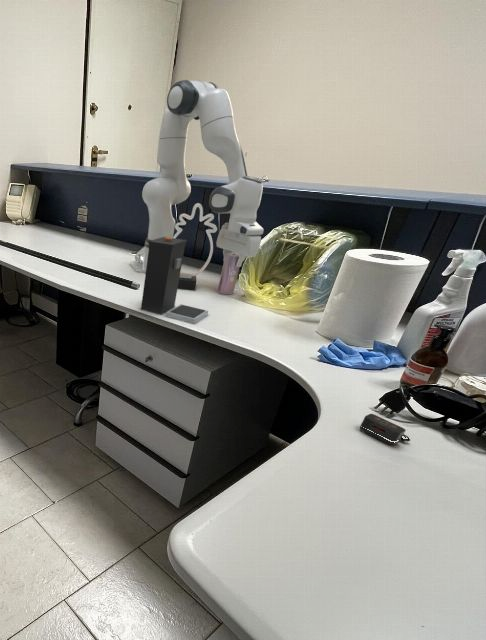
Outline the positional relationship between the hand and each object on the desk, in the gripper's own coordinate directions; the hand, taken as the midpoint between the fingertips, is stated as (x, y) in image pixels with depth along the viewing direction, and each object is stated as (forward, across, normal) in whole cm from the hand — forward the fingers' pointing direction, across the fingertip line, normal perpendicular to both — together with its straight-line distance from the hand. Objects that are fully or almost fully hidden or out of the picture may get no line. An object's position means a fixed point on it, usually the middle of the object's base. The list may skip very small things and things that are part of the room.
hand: (231, 264), depth 156 cm
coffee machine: (+11, +16, -32) cm, 37 cm away
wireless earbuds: (+12, +90, -27) cm, 95 cm away
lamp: (+11, -11, -12) cm, 20 cm away
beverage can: (+11, 0, 0) cm, 11 cm away
